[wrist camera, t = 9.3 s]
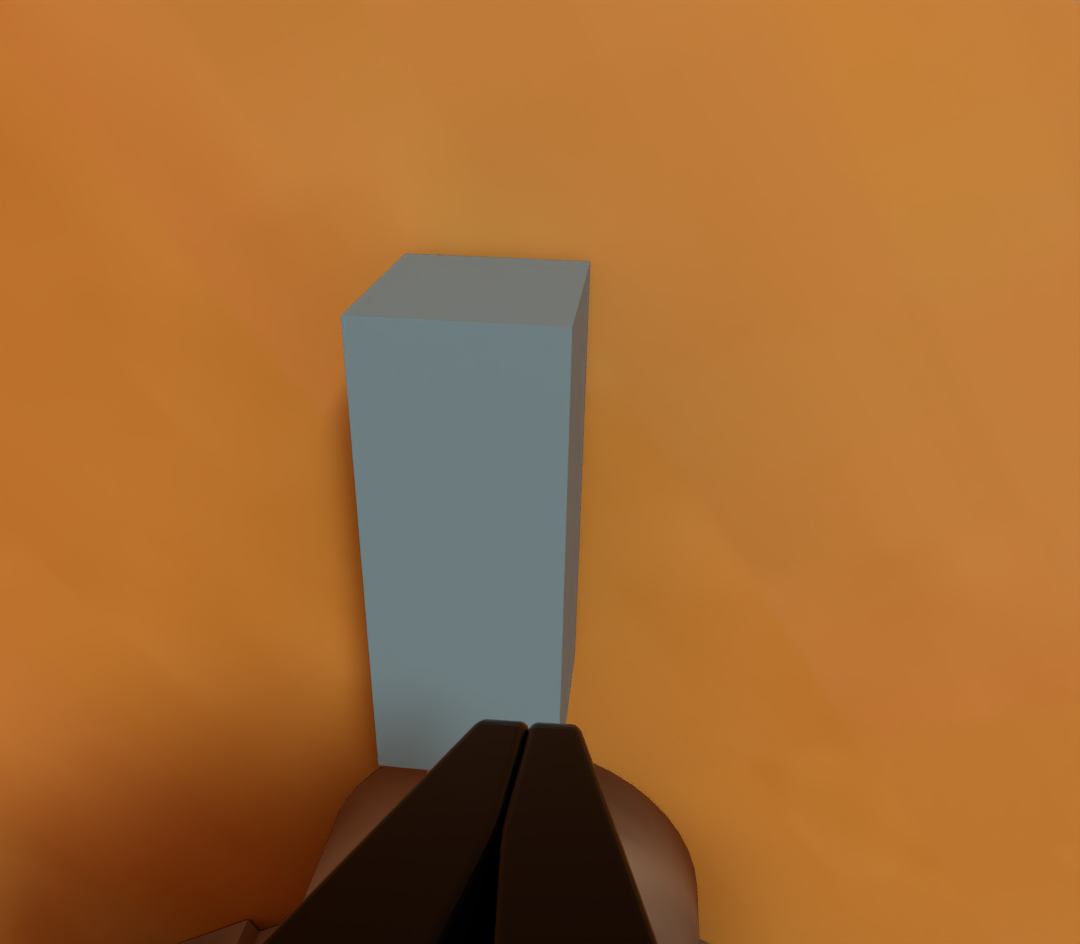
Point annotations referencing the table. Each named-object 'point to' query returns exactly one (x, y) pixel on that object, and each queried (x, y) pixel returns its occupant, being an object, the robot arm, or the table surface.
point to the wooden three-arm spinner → (636, 817)
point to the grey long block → (467, 491)
